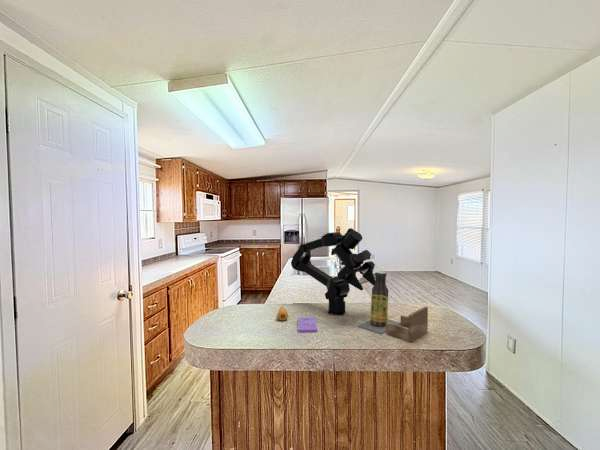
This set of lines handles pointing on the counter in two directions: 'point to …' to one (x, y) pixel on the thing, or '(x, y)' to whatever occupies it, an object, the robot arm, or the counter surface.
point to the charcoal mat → (374, 328)
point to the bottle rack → (410, 326)
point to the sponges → (307, 325)
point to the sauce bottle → (379, 300)
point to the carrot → (282, 314)
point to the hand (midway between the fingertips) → (369, 287)
